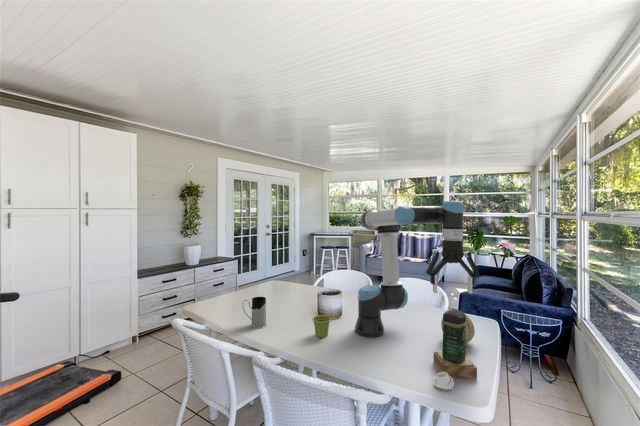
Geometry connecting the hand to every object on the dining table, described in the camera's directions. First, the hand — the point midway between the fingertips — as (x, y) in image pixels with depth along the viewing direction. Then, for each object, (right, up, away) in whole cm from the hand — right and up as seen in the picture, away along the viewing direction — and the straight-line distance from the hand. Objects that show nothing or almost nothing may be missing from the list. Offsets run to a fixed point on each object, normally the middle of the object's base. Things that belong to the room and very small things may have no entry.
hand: (452, 292), depth 118 cm
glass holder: (-89, -31, +47) cm, 105 cm away
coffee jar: (0, -26, -1) cm, 26 cm away
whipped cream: (-8, -31, -11) cm, 34 cm away
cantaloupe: (+14, -31, +25) cm, 42 cm away
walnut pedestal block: (0, -31, -1) cm, 31 cm away
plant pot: (-52, -31, +33) cm, 69 cm away
